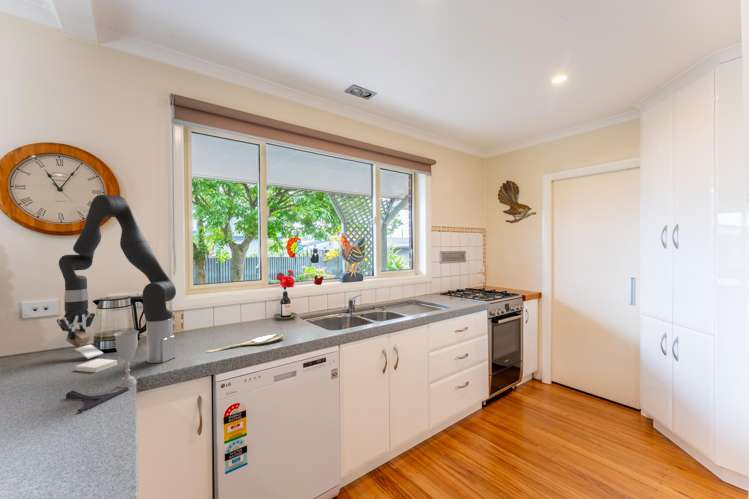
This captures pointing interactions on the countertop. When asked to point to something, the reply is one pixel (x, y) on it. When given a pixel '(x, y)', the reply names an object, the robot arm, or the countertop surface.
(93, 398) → the bracket
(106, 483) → the countertop surface
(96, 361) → the tile
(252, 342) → the spoon
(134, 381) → the chalice
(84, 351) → the turner
